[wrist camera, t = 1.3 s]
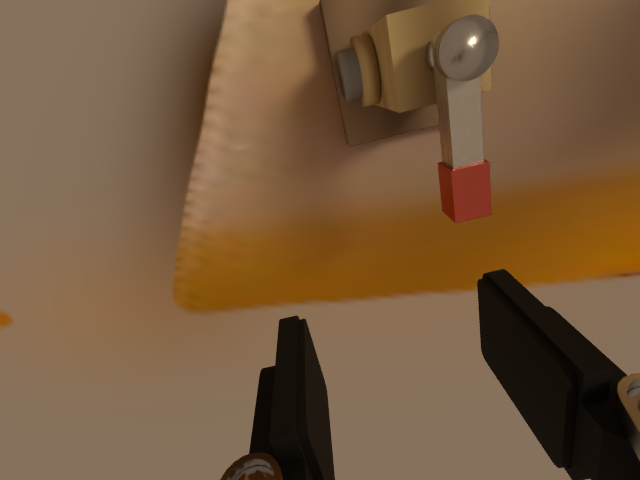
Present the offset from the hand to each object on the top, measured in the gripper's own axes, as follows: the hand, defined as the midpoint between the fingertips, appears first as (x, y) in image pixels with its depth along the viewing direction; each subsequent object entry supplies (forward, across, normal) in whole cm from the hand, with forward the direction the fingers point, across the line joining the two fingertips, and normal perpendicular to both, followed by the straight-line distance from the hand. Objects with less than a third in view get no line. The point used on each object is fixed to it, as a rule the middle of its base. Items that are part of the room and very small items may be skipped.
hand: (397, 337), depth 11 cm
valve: (+21, -6, -7) cm, 23 cm away
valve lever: (+12, -6, -3) cm, 14 cm away
